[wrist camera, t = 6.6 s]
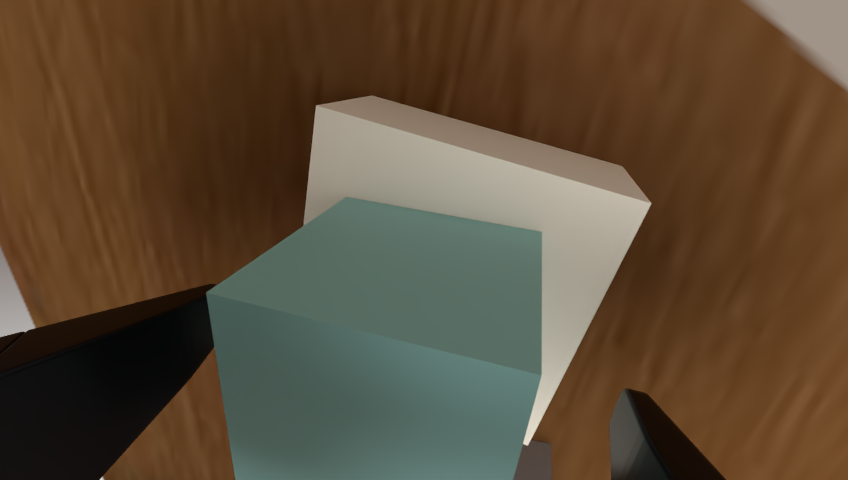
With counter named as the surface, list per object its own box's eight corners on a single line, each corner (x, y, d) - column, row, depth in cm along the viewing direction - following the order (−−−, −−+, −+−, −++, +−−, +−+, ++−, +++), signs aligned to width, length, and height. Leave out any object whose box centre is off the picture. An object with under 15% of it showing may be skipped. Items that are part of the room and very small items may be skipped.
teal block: (505, 390, 12) (482, 589, 7) (344, 349, 13) (239, 502, 8) (542, 231, 10) (541, 375, 5) (346, 196, 11) (206, 292, 6)
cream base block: (531, 360, 16) (527, 445, 12) (342, 292, 17) (290, 352, 13) (620, 163, 12) (651, 203, 9) (375, 94, 13) (316, 105, 10)
